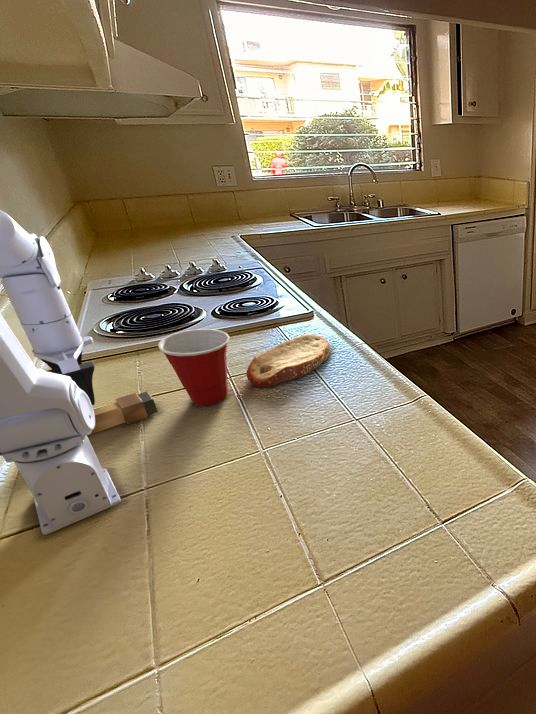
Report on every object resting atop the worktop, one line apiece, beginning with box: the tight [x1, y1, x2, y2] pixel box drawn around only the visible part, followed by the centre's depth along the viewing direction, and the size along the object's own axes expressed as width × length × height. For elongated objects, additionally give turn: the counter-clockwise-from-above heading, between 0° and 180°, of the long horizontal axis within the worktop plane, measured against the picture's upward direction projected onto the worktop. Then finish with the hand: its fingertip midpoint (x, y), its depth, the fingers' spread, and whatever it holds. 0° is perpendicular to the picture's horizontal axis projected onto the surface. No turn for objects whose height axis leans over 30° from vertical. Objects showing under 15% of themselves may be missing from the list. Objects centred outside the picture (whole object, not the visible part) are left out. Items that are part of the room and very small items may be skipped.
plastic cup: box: [157, 328, 231, 407], centre depth 83 cm, size 11×11×12 cm
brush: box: [88, 391, 159, 436], centre depth 77 cm, size 13×4×3 cm, turn 136°
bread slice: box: [246, 334, 332, 388], centre depth 98 cm, size 18×18×4 cm
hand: (81, 397), depth 74 cm, fingers open, 7 cm apart
